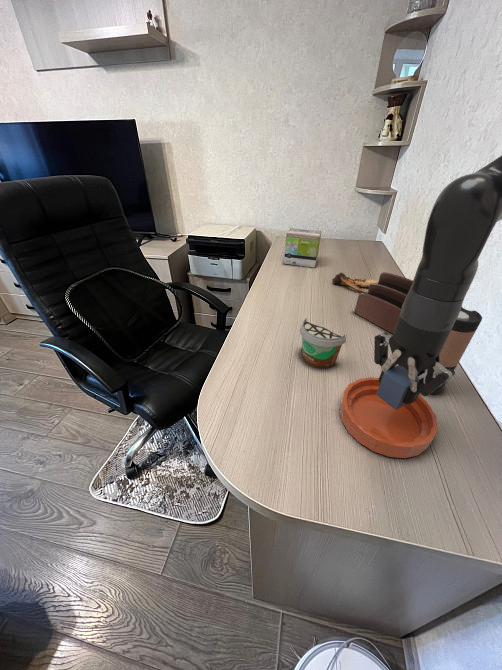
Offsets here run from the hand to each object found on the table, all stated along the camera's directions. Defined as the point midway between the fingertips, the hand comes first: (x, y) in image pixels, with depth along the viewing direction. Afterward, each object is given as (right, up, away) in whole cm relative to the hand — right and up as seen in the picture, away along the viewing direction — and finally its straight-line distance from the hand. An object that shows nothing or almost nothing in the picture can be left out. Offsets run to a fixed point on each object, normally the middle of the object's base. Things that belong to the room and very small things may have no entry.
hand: (395, 392), depth 54 cm
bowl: (0, -7, +5) cm, 8 cm away
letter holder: (+17, +15, +37) cm, 43 cm away
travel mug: (+14, -1, +14) cm, 20 cm away
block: (0, -1, +1) cm, 1 cm away
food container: (-11, +4, +21) cm, 24 cm away
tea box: (-4, +46, +81) cm, 94 cm away
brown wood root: (+14, +30, +58) cm, 67 cm away
